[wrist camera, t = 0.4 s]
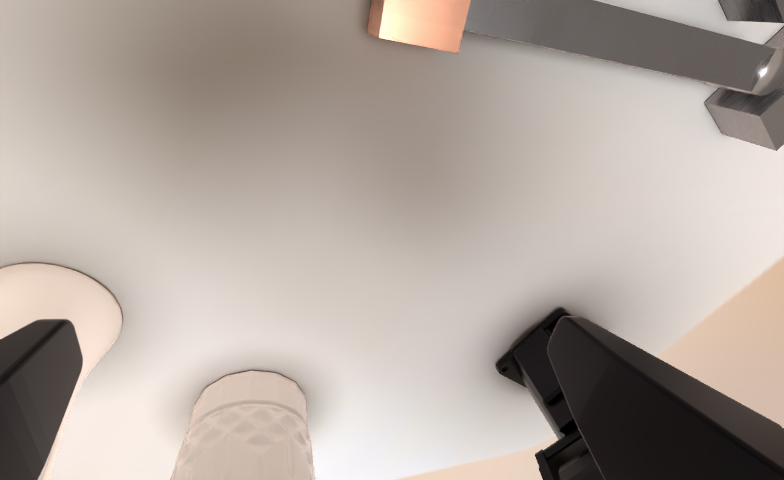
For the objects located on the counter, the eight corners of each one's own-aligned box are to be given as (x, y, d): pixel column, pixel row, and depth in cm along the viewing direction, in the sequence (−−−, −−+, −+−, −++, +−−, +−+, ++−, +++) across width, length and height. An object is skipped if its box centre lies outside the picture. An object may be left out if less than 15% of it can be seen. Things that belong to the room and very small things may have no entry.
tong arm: (745, 46, 20) (801, 52, 18) (715, 102, 21) (763, 113, 19) (378, -49, 15) (393, -57, 13) (367, 32, 16) (379, 37, 14)
